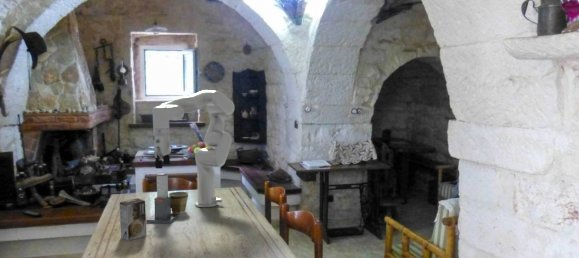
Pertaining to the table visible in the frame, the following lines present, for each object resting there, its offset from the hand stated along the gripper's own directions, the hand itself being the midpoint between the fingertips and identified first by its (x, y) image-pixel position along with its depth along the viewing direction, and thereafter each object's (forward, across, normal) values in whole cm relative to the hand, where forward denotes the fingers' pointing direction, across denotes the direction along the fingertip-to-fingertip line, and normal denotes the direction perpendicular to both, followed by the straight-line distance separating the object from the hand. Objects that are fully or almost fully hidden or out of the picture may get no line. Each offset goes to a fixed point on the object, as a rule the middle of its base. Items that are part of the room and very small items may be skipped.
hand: (162, 166), depth 225 cm
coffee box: (+26, -27, +4) cm, 38 cm away
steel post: (+20, -1, 0) cm, 20 cm away
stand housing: (+27, -1, 0) cm, 27 cm away
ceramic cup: (+27, +13, -2) cm, 30 cm away
